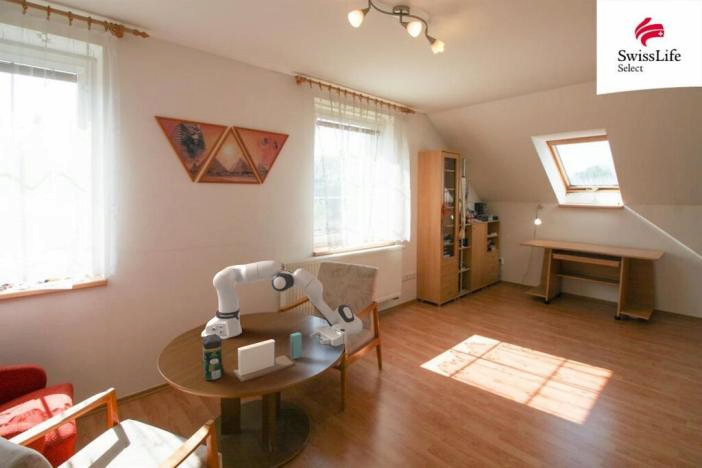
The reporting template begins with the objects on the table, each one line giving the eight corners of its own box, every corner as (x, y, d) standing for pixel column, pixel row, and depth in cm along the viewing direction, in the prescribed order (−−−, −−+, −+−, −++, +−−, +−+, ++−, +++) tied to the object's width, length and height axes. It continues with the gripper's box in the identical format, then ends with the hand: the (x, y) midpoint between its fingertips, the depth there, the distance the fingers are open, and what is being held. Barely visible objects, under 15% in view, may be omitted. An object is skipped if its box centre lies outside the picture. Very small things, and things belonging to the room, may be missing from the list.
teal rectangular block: (292, 358, 172) (292, 336, 170) (289, 356, 174) (289, 334, 173) (301, 356, 175) (301, 334, 174) (298, 353, 177) (298, 332, 176)
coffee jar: (203, 372, 160) (201, 334, 158) (221, 368, 164) (220, 331, 161) (204, 382, 152) (203, 342, 149) (223, 378, 155) (222, 339, 153)
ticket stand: (241, 382, 153) (240, 354, 151) (233, 372, 161) (233, 345, 159) (293, 365, 169) (293, 339, 167) (284, 357, 176) (284, 332, 175)
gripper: (326, 321, 197) (305, 327, 189) (348, 332, 181) (326, 340, 173) (327, 331, 198) (306, 338, 190) (348, 344, 182) (326, 352, 174)
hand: (315, 339), depth 181 cm, fingers open, 8 cm apart
